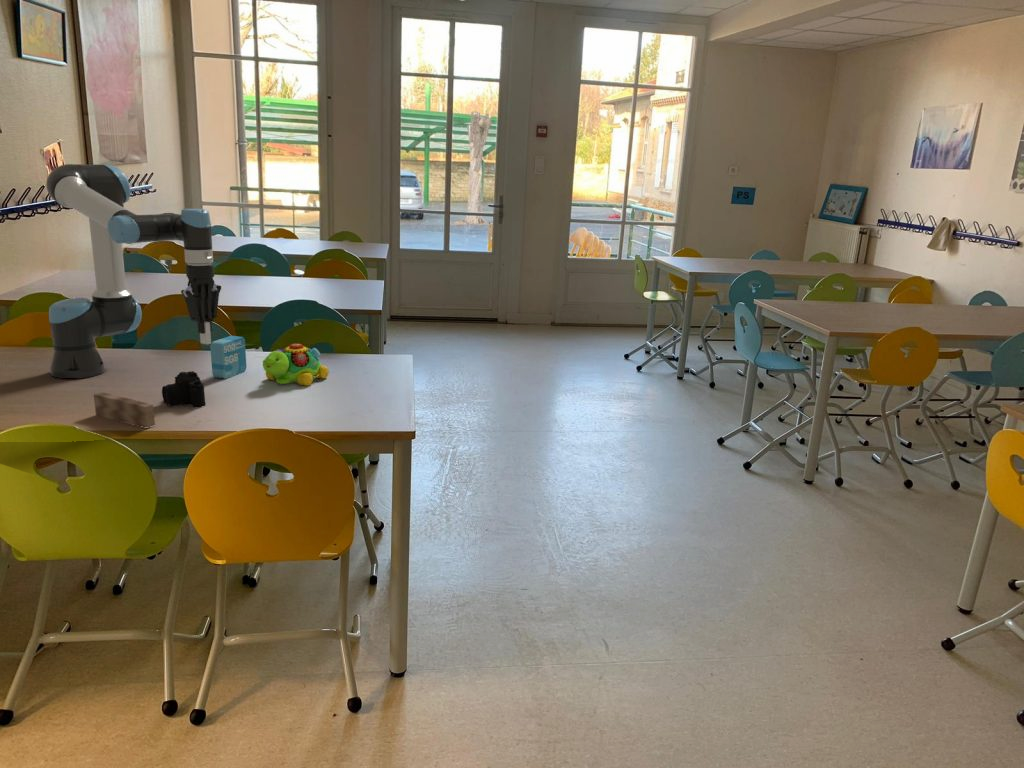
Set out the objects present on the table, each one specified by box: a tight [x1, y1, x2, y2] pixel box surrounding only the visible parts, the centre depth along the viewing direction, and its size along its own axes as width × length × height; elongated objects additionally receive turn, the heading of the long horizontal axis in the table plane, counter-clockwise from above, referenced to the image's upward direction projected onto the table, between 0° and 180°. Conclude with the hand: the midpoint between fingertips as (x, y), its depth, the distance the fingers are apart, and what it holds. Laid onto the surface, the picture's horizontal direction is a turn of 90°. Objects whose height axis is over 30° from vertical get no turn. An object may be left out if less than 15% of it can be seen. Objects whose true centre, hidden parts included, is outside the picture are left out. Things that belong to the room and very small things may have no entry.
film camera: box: [161, 370, 207, 408], centre depth 215 cm, size 15×10×9 cm, turn 42°
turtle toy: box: [262, 343, 330, 387], centre depth 240 cm, size 17×23×12 cm
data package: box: [209, 335, 247, 380], centre depth 244 cm, size 12×4×12 cm, turn 163°
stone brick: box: [93, 391, 156, 428], centre depth 200 cm, size 20×2×6 cm, turn 64°
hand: (206, 343), depth 221 cm, fingers closed
